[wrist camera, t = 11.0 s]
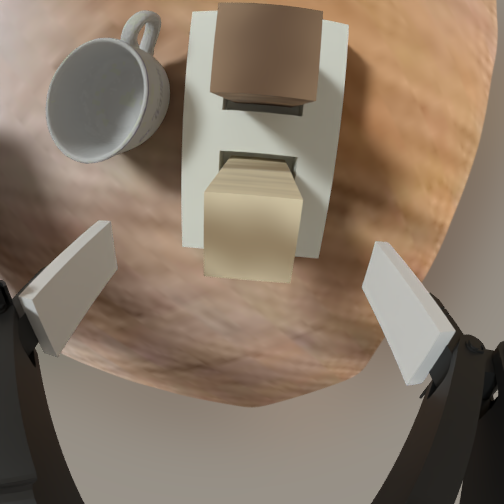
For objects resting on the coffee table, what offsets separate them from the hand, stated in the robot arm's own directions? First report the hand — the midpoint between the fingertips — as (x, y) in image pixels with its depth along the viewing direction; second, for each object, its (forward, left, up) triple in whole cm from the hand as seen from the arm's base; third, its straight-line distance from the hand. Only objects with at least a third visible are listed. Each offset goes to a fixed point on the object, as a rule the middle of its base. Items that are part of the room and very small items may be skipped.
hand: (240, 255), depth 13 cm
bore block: (0, +5, -16) cm, 17 cm away
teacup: (-12, +9, -16) cm, 22 cm away
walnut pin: (0, +10, -16) cm, 19 cm away
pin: (0, 0, -15) cm, 15 cm away
